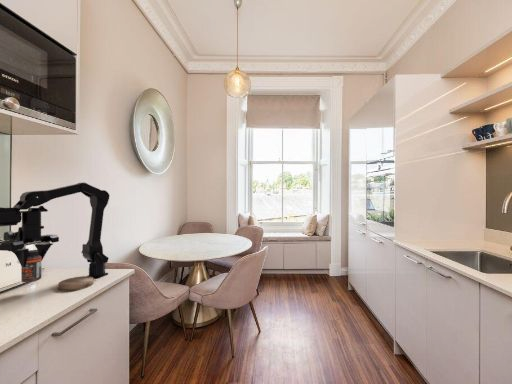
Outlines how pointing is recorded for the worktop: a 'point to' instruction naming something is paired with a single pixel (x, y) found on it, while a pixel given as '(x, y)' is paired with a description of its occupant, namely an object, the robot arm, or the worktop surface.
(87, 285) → the walnut plinth
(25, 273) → the supplement bottle
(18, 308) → the worktop surface
